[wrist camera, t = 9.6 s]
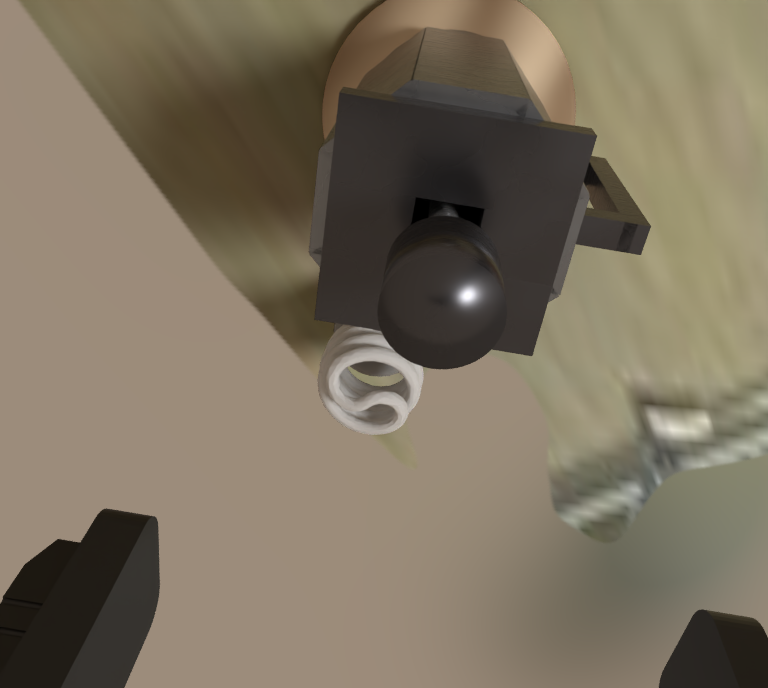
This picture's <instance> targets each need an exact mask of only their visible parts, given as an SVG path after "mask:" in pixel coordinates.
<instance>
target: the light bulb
mask: <svg viewBox="0 0 768 688" xmlns="http://www.w3.org/2000/svg"><path fill="white" fill-rule="evenodd" d="M348 366H350V367H352V368H353V369H355V370H357V371H358V372H360V373H363V374H366V375H369V376H379V377H380V376H390V375H393V374H396V373H399V372H400V373H401V374H402V375H403V377H404V378H403V380H401V381H400V382H398V383H396V384H394V385H391V386H382V387H380V386H372V385H369V384H367V383H364V382H362V381H360V380H359V379H357V378H356V377H355V376H353V375H352V374H351V372H350V371H349V370H348V368H347V367H348ZM423 375H424V374H423V367H422V366H420V365H417V364H414V363H412V362H410V361H408V360H406V359H405V358H403V357H402V356H400V355H399V354H398V353H397V352H395V351H394V350H393V348H392V347H391V346H390V345H389V344H388V342H387V341H386V340H385V338H384V336H383V334H382V332H380V331H375V330H373V329H368V328H362V327H356V326H350V325H344V324H338V323H335V325H334V334H333V335H332V337H331V338H330V340H329V341H328V343H327V346H326V348H325V350H324V352H323V355H322V358H321V362H320V369H319V374H318V391H319V395H320V398H321V400H322V402H323V405H324V407H325V408H326V409H327V411H328V412H329V413H330V414H331V416H332V417H334V419H336V420H337V421H338V422H339V423H340V424H342V425H344V426H345V427H347V428H349V429H351V430H353V431H357V432H360V433H364V434H369V435H380V434H386V433H389V432H392V431H395V430H397V429H398V428H399V427H400V426H402V425H403V424H404V422H405V420H406V418H407V417H408V413H409V412H410V411H411V410H412V409H413V408H414V407H415V405H416V404H417V402H418V399H419V397H420V393H421V386H422V383H423Z"/></svg>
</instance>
